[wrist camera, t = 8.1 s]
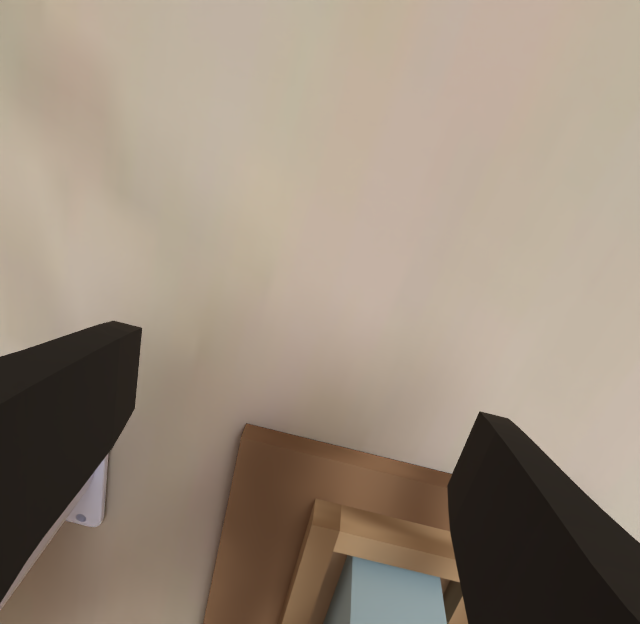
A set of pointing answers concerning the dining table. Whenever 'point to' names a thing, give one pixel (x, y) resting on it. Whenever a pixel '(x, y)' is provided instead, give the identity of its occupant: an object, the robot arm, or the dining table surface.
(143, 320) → the dining table surface
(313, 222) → the dining table surface
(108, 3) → the dining table surface
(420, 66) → the dining table surface
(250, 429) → the cradle
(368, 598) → the tall light blue prism
